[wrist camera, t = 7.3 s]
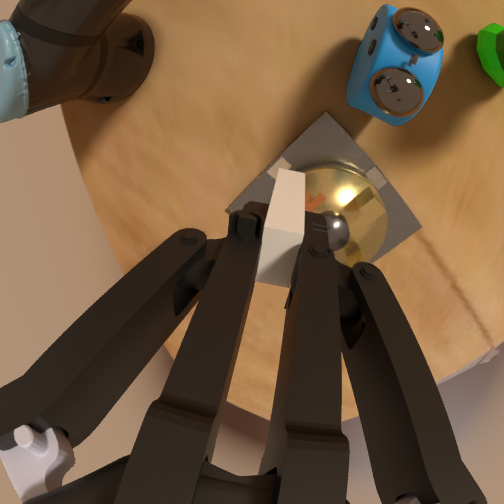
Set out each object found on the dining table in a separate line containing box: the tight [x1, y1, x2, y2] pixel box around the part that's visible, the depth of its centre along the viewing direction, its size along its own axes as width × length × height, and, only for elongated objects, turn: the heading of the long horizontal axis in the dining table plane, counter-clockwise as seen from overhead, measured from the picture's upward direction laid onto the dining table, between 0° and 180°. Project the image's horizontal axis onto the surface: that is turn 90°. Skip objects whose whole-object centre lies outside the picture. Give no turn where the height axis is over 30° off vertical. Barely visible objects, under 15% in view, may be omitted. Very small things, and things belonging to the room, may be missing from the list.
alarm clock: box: [346, 4, 444, 126], centre depth 20 cm, size 13×6×15 cm, turn 164°
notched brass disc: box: [298, 163, 388, 268], centre depth 36 cm, size 16×16×6 cm
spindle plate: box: [227, 111, 422, 264], centre depth 39 cm, size 22×20×1 cm
